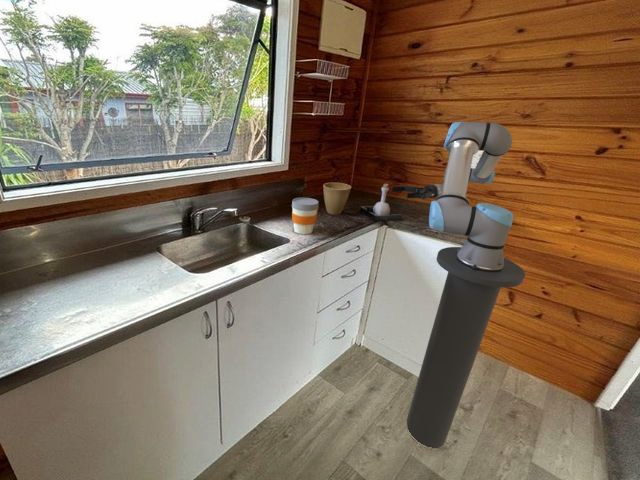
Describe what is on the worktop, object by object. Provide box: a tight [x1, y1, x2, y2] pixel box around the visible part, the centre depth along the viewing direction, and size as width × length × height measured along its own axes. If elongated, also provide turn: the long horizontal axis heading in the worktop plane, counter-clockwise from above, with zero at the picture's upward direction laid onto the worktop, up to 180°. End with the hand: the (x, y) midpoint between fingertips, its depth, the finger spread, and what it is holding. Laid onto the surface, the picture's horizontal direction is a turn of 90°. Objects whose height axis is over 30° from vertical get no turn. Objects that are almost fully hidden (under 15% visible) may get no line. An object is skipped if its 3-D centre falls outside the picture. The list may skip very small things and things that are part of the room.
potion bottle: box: [372, 183, 391, 215], centre depth 167 cm, size 9×9×18 cm
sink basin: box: [359, 205, 403, 222], centre depth 169 cm, size 16×16×5 cm
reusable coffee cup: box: [291, 197, 320, 235], centre depth 145 cm, size 12×13×15 cm
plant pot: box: [322, 182, 352, 216], centre depth 170 cm, size 15×15×16 cm
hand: (399, 192), depth 167 cm, fingers open, 13 cm apart
